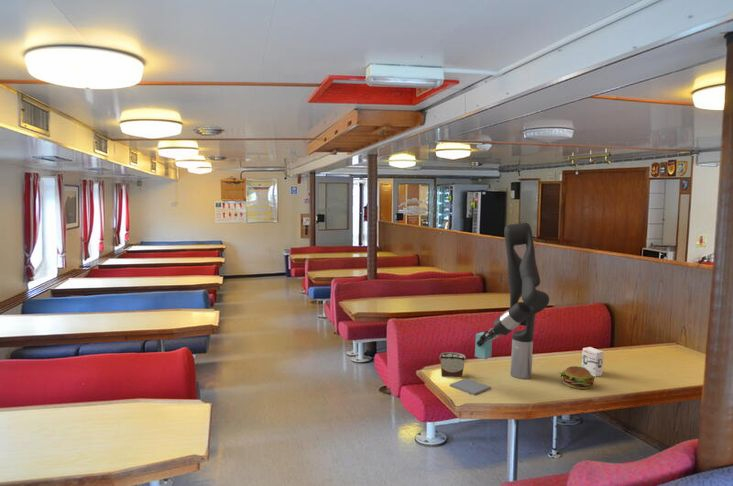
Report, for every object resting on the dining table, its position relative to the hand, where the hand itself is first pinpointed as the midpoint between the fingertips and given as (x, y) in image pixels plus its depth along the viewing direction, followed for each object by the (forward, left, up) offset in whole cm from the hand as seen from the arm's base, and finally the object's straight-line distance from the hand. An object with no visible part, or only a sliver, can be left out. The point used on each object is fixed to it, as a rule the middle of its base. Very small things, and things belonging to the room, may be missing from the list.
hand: (481, 343), depth 219 cm
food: (-39, +25, -20) cm, 50 cm away
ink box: (-59, +23, -20) cm, 66 cm away
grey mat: (+2, -3, -20) cm, 20 cm away
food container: (-4, -18, -20) cm, 27 cm away
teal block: (0, +1, -6) cm, 6 cm away
